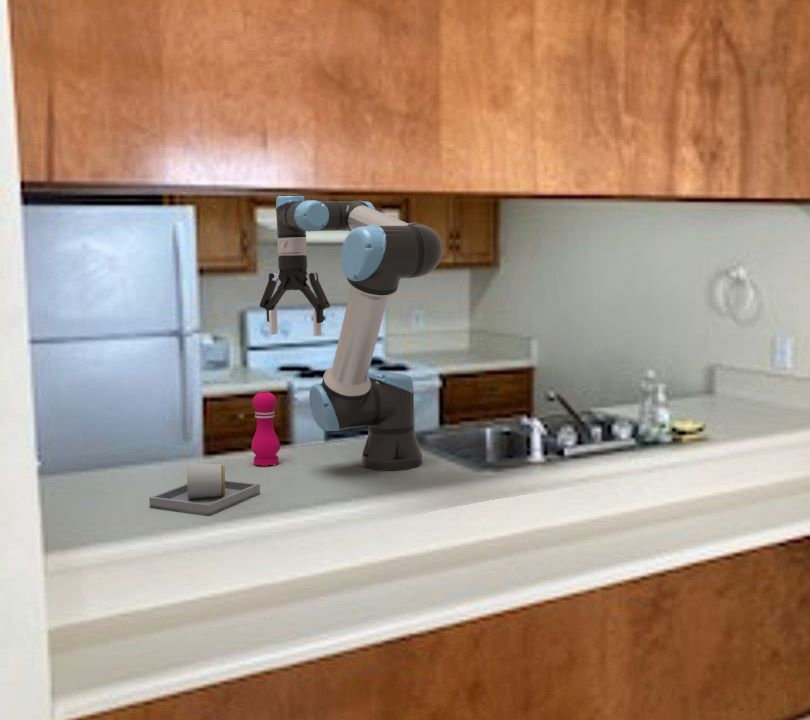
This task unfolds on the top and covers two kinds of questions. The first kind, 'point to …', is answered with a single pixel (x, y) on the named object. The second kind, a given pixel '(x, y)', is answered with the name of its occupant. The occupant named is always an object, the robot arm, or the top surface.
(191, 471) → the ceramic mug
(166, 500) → the grey tray
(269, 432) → the pepper mill
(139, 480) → the top surface
